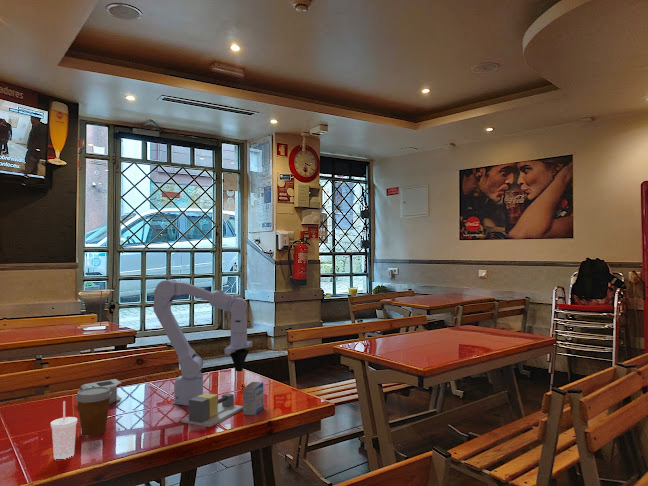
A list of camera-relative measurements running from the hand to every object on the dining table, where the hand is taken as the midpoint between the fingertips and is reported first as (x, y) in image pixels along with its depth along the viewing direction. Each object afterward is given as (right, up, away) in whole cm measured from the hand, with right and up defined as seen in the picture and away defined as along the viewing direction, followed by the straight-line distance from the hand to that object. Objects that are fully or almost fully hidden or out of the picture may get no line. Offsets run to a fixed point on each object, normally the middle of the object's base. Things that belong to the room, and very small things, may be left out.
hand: (239, 370), depth 167 cm
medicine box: (+7, -10, -12) cm, 17 cm away
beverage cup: (-37, -10, -45) cm, 59 cm away
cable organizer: (-49, -11, 0) cm, 50 cm away
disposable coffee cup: (-37, -10, -29) cm, 48 cm away
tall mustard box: (-7, -9, -18) cm, 21 cm away
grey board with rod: (-5, -10, -15) cm, 19 cm away
